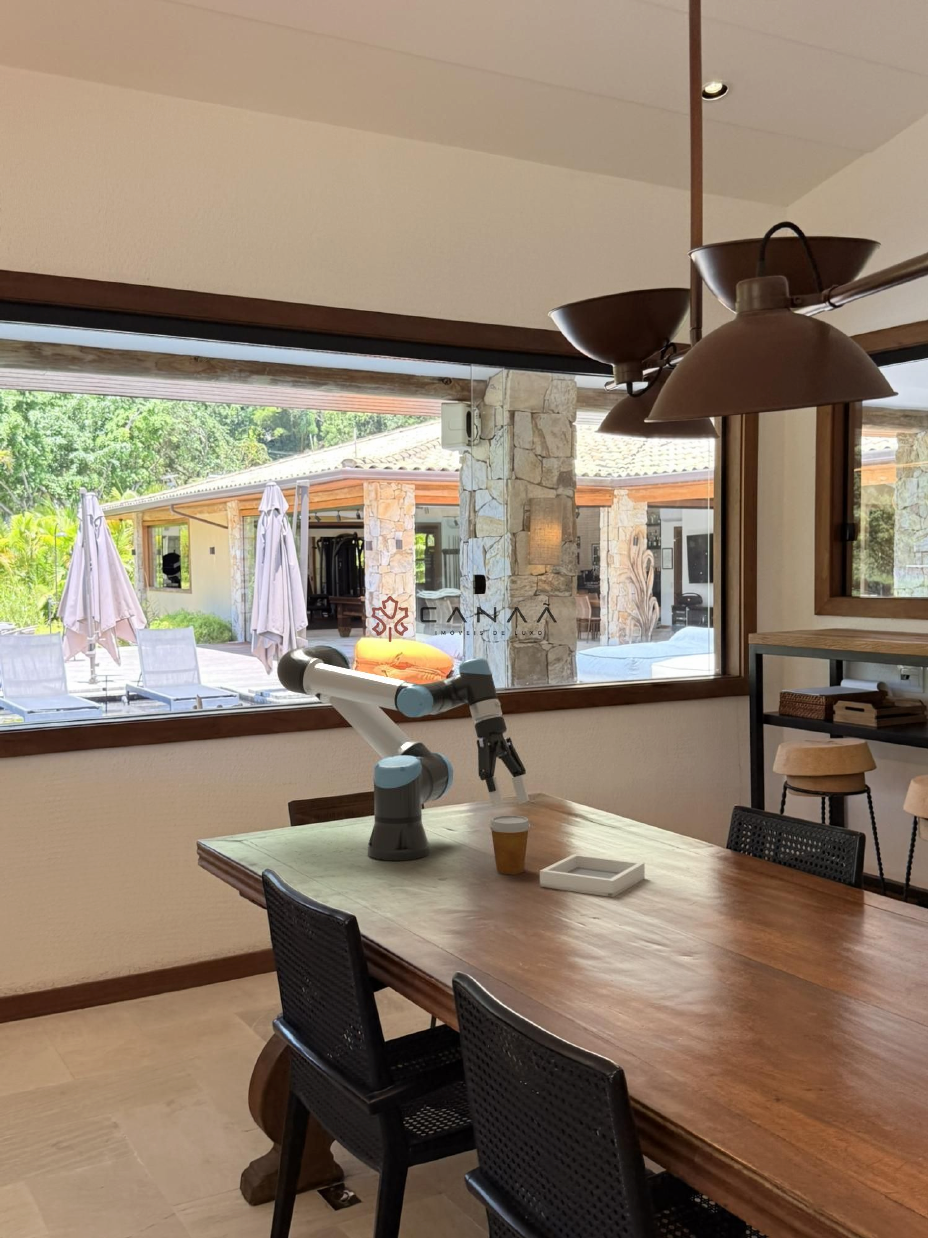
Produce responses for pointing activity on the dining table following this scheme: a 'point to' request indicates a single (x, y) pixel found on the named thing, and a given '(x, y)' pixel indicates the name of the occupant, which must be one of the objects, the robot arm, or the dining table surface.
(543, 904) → the dining table surface
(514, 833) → the disposable coffee cup
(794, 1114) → the dining table surface
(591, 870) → the square well
